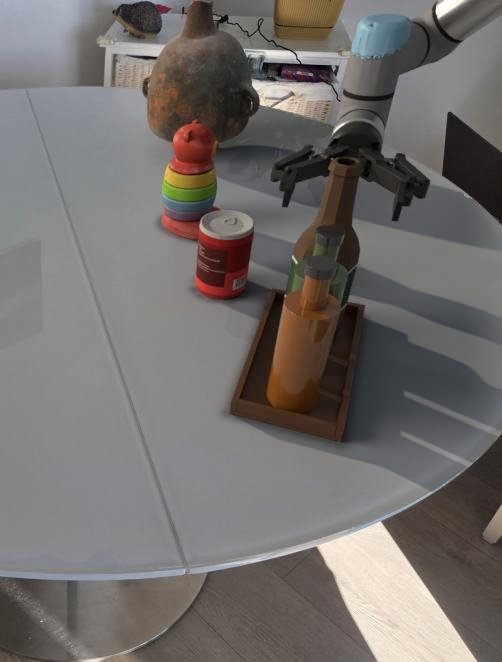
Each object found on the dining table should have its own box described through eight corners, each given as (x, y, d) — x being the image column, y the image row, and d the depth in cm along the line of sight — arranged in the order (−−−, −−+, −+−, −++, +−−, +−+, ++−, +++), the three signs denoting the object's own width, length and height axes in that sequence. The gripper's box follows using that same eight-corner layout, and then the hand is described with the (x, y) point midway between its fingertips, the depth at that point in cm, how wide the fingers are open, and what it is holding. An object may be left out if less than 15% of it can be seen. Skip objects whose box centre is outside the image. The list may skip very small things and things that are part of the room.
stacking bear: (204, 242, 109) (214, 141, 98) (150, 231, 113) (153, 132, 102) (226, 215, 116) (237, 117, 105) (174, 205, 120) (179, 110, 109)
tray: (361, 316, 90) (365, 304, 89) (340, 442, 72) (344, 429, 71) (269, 299, 95) (271, 287, 93) (229, 413, 77) (230, 401, 76)
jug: (250, 130, 146) (270, -18, 127) (252, 169, 130) (274, 6, 111) (143, 129, 151) (147, -13, 133) (132, 167, 135) (134, 11, 116)
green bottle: (326, 354, 83) (361, 222, 71) (320, 382, 79) (356, 247, 67) (280, 344, 86) (306, 215, 74) (272, 371, 82) (298, 239, 70)
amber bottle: (319, 388, 79) (354, 253, 67) (312, 419, 75) (348, 282, 63) (270, 377, 81) (296, 244, 69) (261, 406, 77) (287, 272, 65)
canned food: (245, 273, 101) (254, 210, 94) (246, 302, 95) (255, 237, 88) (195, 270, 102) (200, 208, 95) (193, 298, 96) (198, 234, 89)
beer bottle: (306, 351, 84) (346, 181, 69) (267, 320, 90) (296, 157, 75) (352, 333, 86) (400, 164, 71) (311, 305, 92) (348, 142, 77)
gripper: (439, 176, 96) (438, 244, 81) (268, 159, 105) (240, 217, 91) (455, 127, 91) (458, 189, 77) (275, 113, 101) (246, 167, 86)
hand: (340, 205), depth 84 cm, fingers open, 13 cm apart
